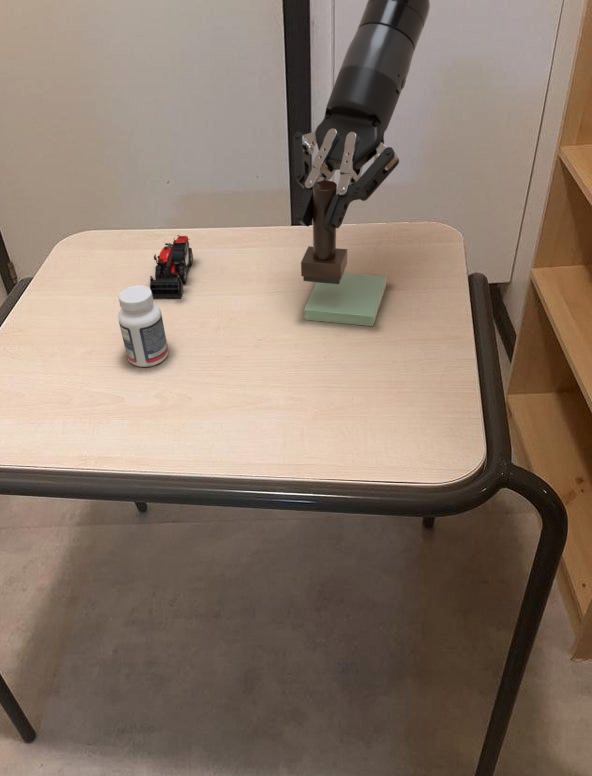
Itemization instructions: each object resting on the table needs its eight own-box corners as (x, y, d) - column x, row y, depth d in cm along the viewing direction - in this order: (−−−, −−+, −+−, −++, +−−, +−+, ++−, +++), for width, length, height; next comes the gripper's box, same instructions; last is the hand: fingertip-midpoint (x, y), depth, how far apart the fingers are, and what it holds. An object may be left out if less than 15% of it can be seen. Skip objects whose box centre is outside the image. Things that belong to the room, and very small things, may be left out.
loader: (181, 299, 100) (177, 268, 97) (149, 299, 101) (143, 268, 98) (196, 256, 109) (192, 226, 105) (166, 256, 109) (161, 227, 106)
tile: (386, 286, 98) (386, 276, 97) (373, 326, 92) (373, 316, 91) (321, 280, 101) (321, 270, 100) (304, 319, 94) (303, 309, 93)
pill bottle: (173, 344, 93) (162, 282, 86) (162, 368, 89) (151, 306, 83) (133, 342, 94) (120, 281, 87) (122, 367, 90) (107, 305, 84)
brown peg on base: (346, 269, 92) (349, 179, 84) (340, 285, 90) (342, 194, 81) (308, 266, 94) (307, 177, 85) (301, 282, 91) (299, 191, 83)
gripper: (305, 56, 83) (252, 203, 85) (418, 69, 76) (357, 227, 79) (329, 91, 89) (279, 226, 92) (434, 106, 83) (378, 250, 85)
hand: (315, 226), depth 85 cm, fingers closed on brown peg on base, 3 cm apart
